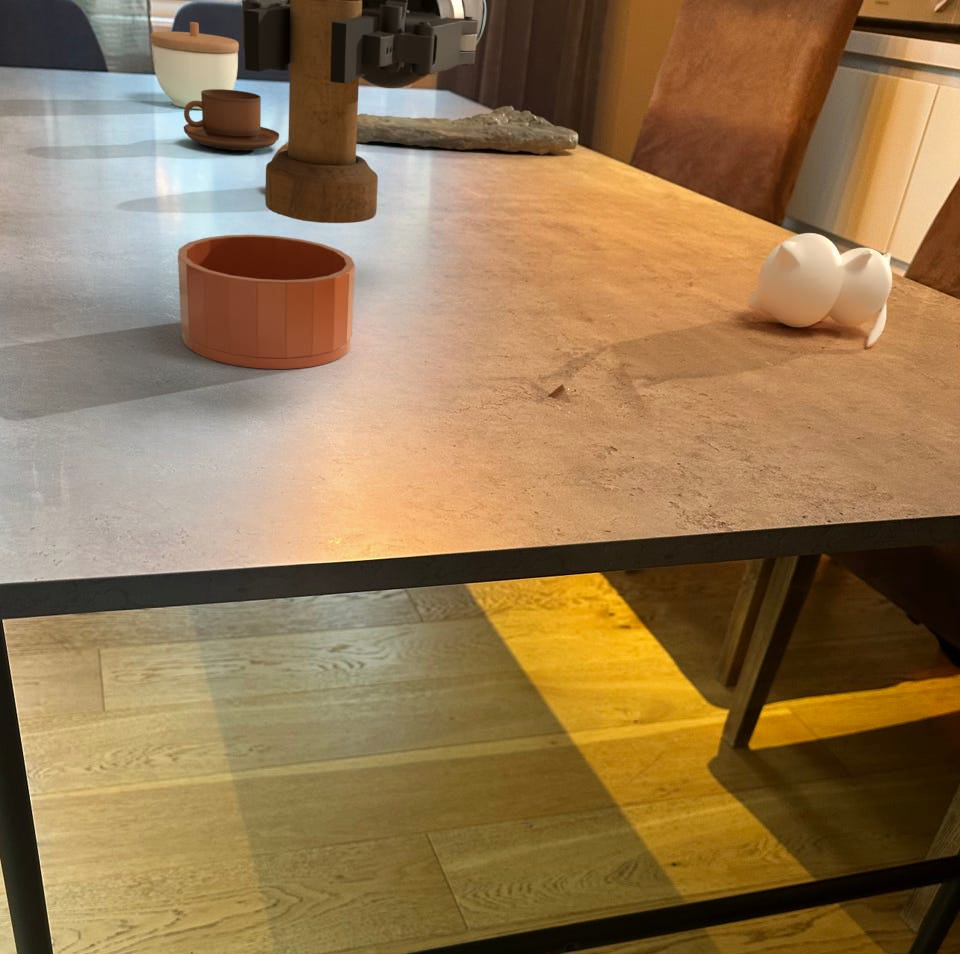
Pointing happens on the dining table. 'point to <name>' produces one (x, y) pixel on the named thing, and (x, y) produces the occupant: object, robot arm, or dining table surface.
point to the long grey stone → (470, 132)
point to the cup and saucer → (229, 121)
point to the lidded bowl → (193, 63)
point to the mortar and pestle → (320, 128)
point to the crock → (266, 301)
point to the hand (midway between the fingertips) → (295, 47)
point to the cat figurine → (823, 284)
